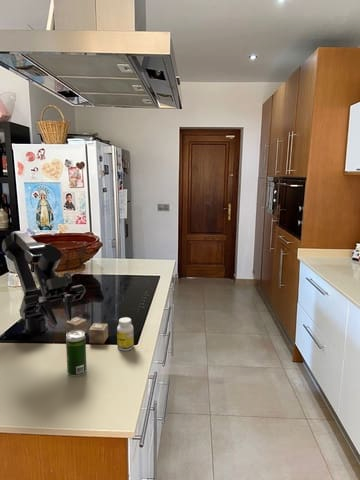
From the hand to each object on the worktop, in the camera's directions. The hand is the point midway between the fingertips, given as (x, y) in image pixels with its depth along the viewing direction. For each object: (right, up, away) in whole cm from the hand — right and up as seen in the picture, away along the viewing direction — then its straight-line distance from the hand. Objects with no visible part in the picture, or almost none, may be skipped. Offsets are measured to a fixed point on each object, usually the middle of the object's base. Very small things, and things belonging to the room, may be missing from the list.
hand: (63, 322), depth 102 cm
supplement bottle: (+17, -11, +11) cm, 23 cm away
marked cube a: (+7, -10, +16) cm, 20 cm away
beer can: (+5, -14, -3) cm, 15 cm away
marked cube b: (-2, -9, +20) cm, 22 cm away
